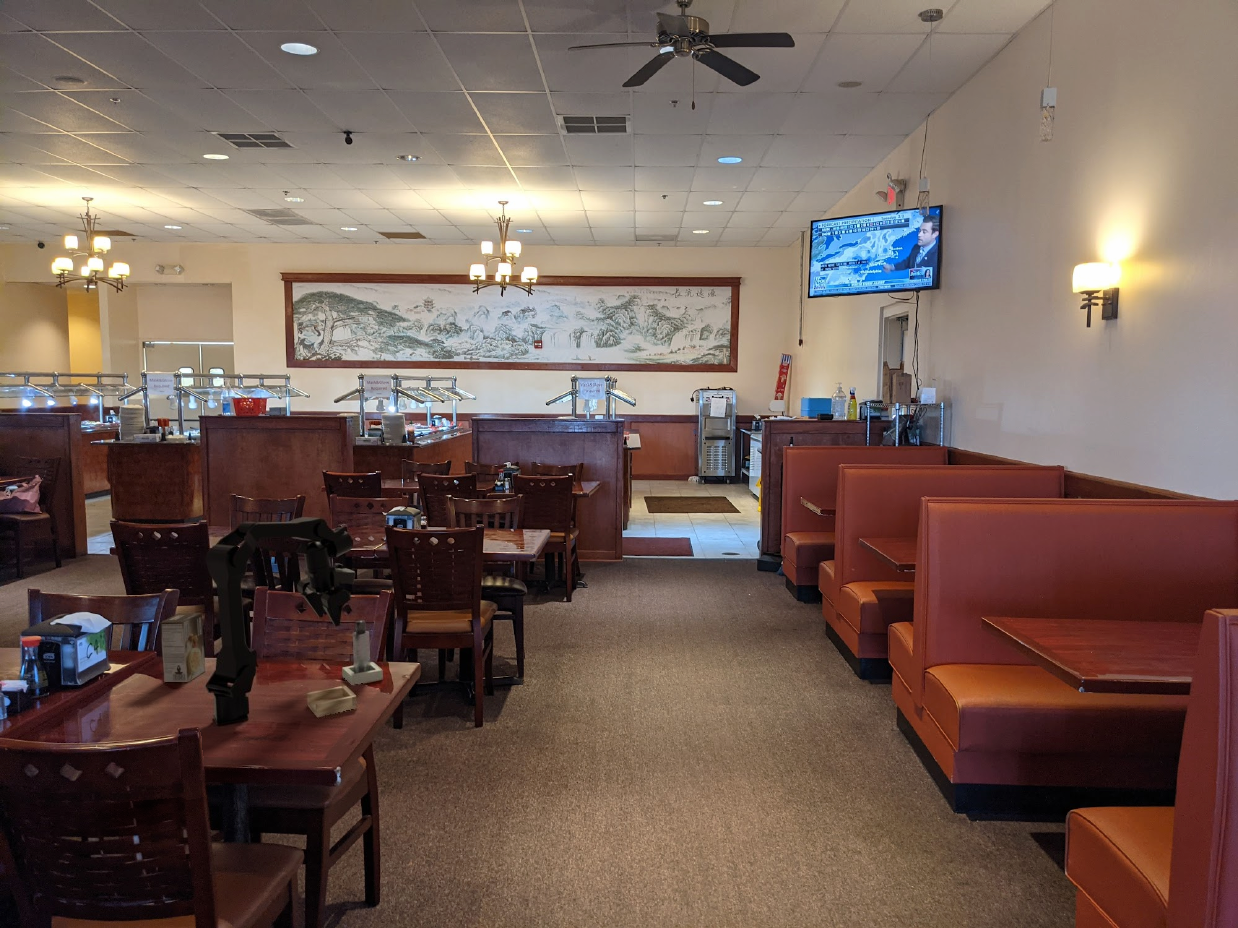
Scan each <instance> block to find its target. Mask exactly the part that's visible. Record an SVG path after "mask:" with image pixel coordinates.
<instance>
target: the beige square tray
mask: <svg viewBox="0 0 1238 928" xmlns="http://www.w3.org/2000/svg"><path fill="white" fill-rule="evenodd" d="M306 698H307V701H306V702H307V706H308V708H309V709H310V710H311V712H312V713H313V714H314V715H315V716H316V718H321V717H326V716H329V715H330V714H331V715H335V713H336V714H339V713H338V712H340V713H343V711H345V712H347V711H346V710H350V711H352V710H351V709H354V710H357V709H358V705H357V704H358V702H357V699H358V698H357V695H356V694H355V693H354V692H353V691H352V690H351V688H349V687H347V685H342V686H341V685H340V686H335V687H331V688H326V689H321V690H315V691H311V692H307V693H306ZM325 715H326V716H325Z"/></svg>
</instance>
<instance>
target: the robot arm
mask: <svg viewBox="0 0 1238 928" xmlns="http://www.w3.org/2000/svg"><path fill="white" fill-rule="evenodd" d="M282 538H284V539H286V538H287V539H288V538H292V539H295V540H296V539H297V540H302V541H310V542H309V543H303V542H302V543H300V545H299V547H298V548H297V549H296V552H295V553H296V554H298V555H304V560H305V565H306V569H304V574H305V575H306V576H308V577H306V578H303V579H300V580H298V583H296V587H297V592H298V593H300V596H301V597H303V599H305V601H306V602H307V603H308V605H309V606H310V607H311V609H312V610H313V612H314V613H315V614H316V615H317V616H318V618H319V619H321V618H324V612H325V613H326V614H327V615H328V617H329V620H330V621H331V622H332V624H333V625H334V627H337V628H338V627H339V626H340V624H341V620H342V619H341V618H342V612H343V608H344V606H345V604H347V603H349V601H351V600H352V595H351V591H349V590H346V589H345V588H343V587H340V584H349V585H354V584H355V583H354V582H355V577H356V572H355V571H354V570H352V569H349V568H346V567H344V565H343V564H341V563H334V564H333V565H332V564H331V560H330V559H335V558H338V557H339V556H341V555H343V554H345V553H347V552H350V551H351V550H353V548H354V540H353V538H352V536H351V535H350V533H348V532H347V531H346V528H345V527H344V526H338V527H336V528H335V529H332V528H331V527H330V526H328V523H327V522H326V519H324V518H320V517H309V516H307V517H306V516H303V517H297V518H293V519H292V520H290V521H277V522H276V521H275V522H274V521H273V522H272V521H267V522H261V521H259V522H255V521H254V522H253V521H243V522H241V523H239V524H238V525H237V526H236V527H235V528H234V530H232V531H231V532H229V533H227V534H226V535H225V536H223V537H221V538H220V539H219V540H218V541H217V542H216V543H215V545H212V547H210V548H209V550H208V551H207V552H206V555H205V563H206V566H207V570H208V574H209V576H210V577H211V579H212V580H213V582H214V584H215V585H216V592H217V593H216V594H217V603H218V615H219V625H220V626H219V627H220V637H221V648H220V650H219V651H218V655H217V656H216V660H215V670H214V671H213V673H212V675H211V676H210V678H209V679H208V681H207V682H206V683H205V688H206V691H207V692H208V694H213V706H214V707H213V708H214V709H213V710H214V714H213V715H212V716H213V720H214V722H215V724H216V726H223V725H228V724H233V723H238V722H243V721H247V720H249V716H248V715H250V701H249V699H250V698H249V695H248V694H249V693H251V691H252V688H253V683H254V679H255V677H256V675H257V668H259V664H258V661H257V660H258V658H257V656H258V653H257V650H256V649H253V648H249V647H248V645H247V642H246V633H245V620H244V619H245V618H244V610H243V609H244V607H243V595H242V593H243V592H242V582H243V580H244V577H245V575H246V574H247V569H248V561H249V559H250V558H251V557H252V556H253V554H254V553H255V551H256V548H257V544H258V542H259V541H260V539H261V540H262V539H282ZM311 541H312V542H311ZM239 545H240V546H239Z"/></svg>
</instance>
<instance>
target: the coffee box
mask: <svg viewBox="0 0 1238 928" xmlns="http://www.w3.org/2000/svg"><path fill="white" fill-rule="evenodd" d="M203 626H204V625H203V612H183V613H181V612H179V613H177V614H175V615H173V616H171V617H168V618H167V619H164V620H162V621H161V622H160V636H161V651H162V662H163V663H162V664H163V680H164V683H165V682H188V683H190V682H191V681H193V680H194V679H195V678H198V676H200V675H202V674H203V673H204V672H206V660H205V659H206V657H205V645H204V642H205V640H204V630H203V629H204V627H203Z"/></svg>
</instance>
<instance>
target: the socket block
mask: <svg viewBox="0 0 1238 928" xmlns="http://www.w3.org/2000/svg"><path fill="white" fill-rule="evenodd" d="M341 670H342V672H341V673H342V678H343V679H344V678H345V679H344V680H345V681H346V680H347V681H348V682H349V683H350V684H351V685H353V686H355V685H354V684H358V685H362V684H361V683H363V684H367V683H372V682H377V681H378V682H379V681H382V680H384V675H383V674H384V672H383V669H382V668H381V667H380V666H378V665H377V664H376V663H375V662H373V661H370V671H367V672H362V673H356V674H354V665H350V666H345V667H343V666H342V669H341ZM347 681H346V682H347ZM348 682H347V683H348ZM349 683H348V684H349ZM350 684H349V685H350ZM351 685H350V686H351Z"/></svg>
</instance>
